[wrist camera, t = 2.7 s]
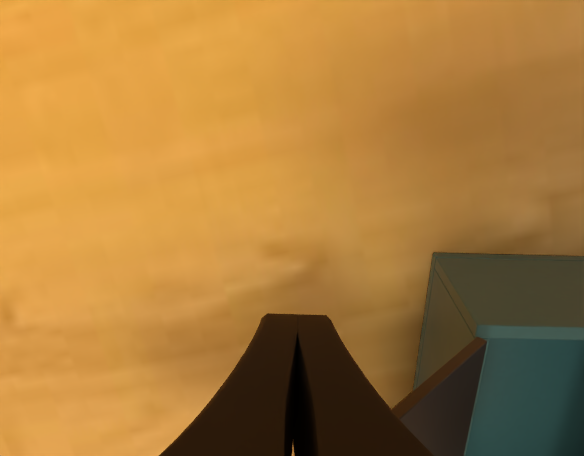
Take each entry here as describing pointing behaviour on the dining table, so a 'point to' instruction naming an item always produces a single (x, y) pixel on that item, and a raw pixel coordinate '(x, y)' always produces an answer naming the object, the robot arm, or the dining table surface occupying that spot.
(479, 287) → the storage box
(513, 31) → the dining table surface
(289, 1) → the dining table surface
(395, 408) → the lid
